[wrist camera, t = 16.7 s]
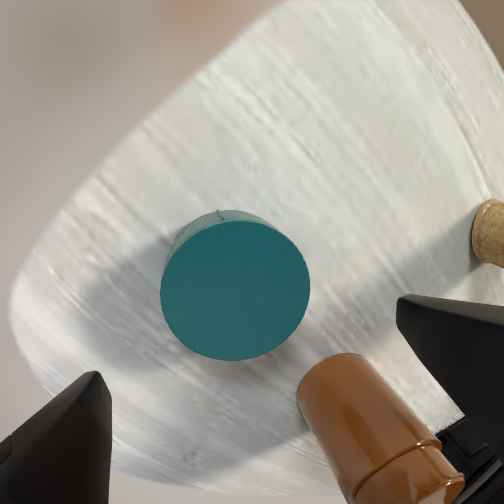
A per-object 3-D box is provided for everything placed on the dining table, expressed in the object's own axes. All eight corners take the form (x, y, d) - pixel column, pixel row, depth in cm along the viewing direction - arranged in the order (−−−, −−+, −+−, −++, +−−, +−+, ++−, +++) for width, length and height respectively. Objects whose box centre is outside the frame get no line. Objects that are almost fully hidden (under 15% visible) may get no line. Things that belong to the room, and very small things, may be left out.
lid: (151, 222, 14) (143, 235, 11) (281, 198, 15) (302, 205, 12) (180, 340, 16) (181, 372, 13) (295, 315, 17) (315, 342, 14)
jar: (369, 401, 20) (452, 508, 10) (299, 426, 19) (363, 556, 9) (372, 341, 18) (485, 455, 8) (292, 367, 18) (376, 520, 8)
